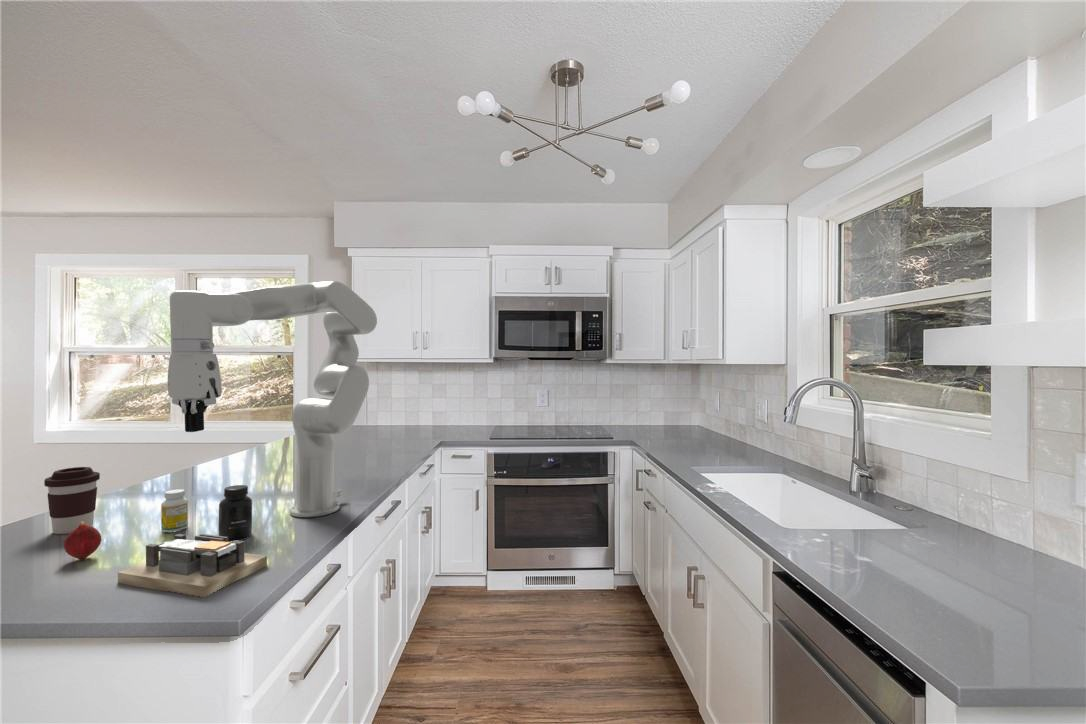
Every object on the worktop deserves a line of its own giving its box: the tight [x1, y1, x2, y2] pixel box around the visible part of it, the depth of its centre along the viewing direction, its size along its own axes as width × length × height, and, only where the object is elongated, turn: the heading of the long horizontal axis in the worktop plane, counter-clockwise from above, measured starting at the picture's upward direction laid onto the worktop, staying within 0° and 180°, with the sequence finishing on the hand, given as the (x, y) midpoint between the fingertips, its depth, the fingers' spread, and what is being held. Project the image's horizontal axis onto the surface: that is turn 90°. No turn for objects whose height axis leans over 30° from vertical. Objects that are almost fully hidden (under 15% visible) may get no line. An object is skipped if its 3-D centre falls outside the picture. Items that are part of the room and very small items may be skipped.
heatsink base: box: [117, 533, 268, 598], centre depth 98 cm, size 14×21×6 cm, turn 75°
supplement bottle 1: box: [160, 488, 189, 533], centre depth 122 cm, size 5×5×10 cm
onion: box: [63, 522, 102, 561], centre depth 104 cm, size 6×6×8 cm
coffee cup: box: [43, 466, 101, 535], centre depth 122 cm, size 10×10×15 cm
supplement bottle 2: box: [218, 484, 253, 541], centre depth 117 cm, size 7×7×12 cm
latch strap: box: [158, 538, 236, 557], centre depth 98 cm, size 4×16×1 cm, turn 75°
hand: (194, 430), depth 108 cm, fingers closed
